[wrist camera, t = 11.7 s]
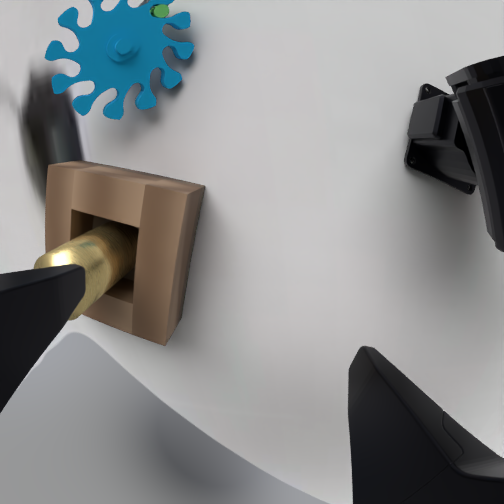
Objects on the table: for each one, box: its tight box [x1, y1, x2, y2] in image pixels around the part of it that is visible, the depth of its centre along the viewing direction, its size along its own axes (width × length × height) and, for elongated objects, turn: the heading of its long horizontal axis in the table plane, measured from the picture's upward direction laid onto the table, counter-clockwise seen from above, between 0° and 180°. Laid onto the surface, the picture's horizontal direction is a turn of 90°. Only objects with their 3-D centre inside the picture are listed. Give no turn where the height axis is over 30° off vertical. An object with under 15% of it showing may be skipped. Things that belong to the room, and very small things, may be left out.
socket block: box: [45, 160, 205, 346], centre depth 20 cm, size 11×11×4 cm
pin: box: [34, 220, 139, 320], centre depth 18 cm, size 4×4×8 cm
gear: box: [45, 0, 194, 120], centre depth 15 cm, size 11×6×10 cm
